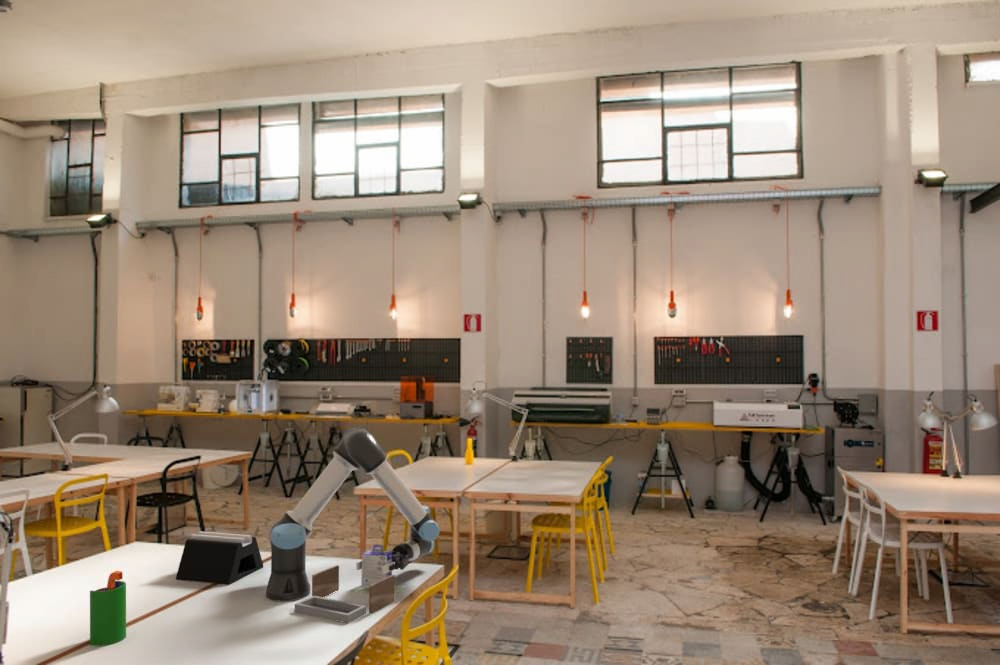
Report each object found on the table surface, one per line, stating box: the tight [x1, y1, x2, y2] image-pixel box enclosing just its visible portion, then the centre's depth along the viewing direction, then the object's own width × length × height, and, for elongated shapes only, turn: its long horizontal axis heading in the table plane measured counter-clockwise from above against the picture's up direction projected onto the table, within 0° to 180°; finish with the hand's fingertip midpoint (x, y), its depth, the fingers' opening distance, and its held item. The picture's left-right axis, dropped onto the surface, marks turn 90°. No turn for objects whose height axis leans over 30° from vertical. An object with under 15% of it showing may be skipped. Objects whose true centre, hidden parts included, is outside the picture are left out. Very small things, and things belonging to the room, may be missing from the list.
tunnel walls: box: [311, 564, 396, 615], centre depth 255 cm, size 25×13×9 cm, turn 63°
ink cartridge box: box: [360, 544, 393, 588], centre depth 266 cm, size 10×6×14 cm, turn 78°
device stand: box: [175, 531, 264, 586], centre depth 286 cm, size 22×22×15 cm
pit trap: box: [294, 595, 367, 624], centre depth 244 cm, size 22×9×2 cm, turn 63°
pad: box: [350, 584, 407, 595], centre depth 268 cm, size 16×12×1 cm
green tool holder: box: [89, 570, 127, 647], centre depth 222 cm, size 10×9×20 cm
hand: (369, 568), depth 263 cm, fingers closed on ink cartridge box, 10 cm apart
